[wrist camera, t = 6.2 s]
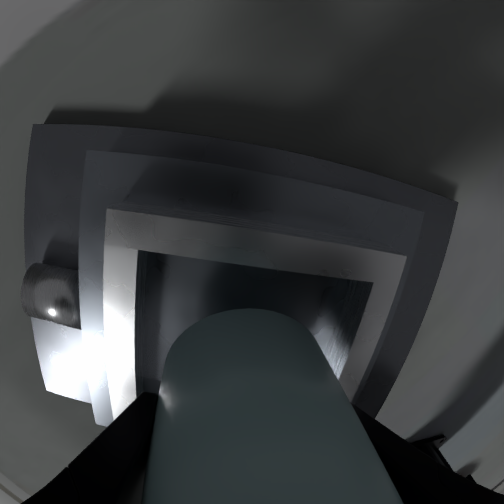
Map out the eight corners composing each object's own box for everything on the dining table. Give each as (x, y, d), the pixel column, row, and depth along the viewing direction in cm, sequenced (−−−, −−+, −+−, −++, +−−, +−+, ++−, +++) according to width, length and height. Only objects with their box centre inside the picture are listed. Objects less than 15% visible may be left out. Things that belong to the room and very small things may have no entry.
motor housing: (448, 200, 13) (511, 217, 9) (369, 412, 17) (396, 460, 13) (41, 125, 10) (-21, 117, 6) (51, 382, 14) (22, 433, 10)
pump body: (343, 316, 9) (486, 515, 2) (299, 429, 10) (352, 592, 3) (168, 296, 8) (105, 582, 1) (162, 421, 9) (147, 606, 2)
